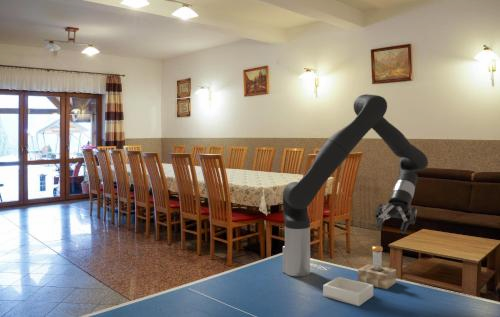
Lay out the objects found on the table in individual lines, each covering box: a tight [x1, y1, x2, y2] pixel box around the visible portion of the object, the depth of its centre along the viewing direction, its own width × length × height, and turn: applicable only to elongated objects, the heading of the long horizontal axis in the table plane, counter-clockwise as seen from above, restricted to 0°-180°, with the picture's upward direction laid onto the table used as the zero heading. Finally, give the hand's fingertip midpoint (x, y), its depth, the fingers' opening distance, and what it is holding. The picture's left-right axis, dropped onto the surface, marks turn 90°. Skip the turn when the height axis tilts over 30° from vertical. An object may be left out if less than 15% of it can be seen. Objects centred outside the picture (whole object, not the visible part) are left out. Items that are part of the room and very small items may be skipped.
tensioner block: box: [357, 263, 397, 290], centre depth 142 cm, size 10×8×4 cm
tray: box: [322, 276, 374, 307], centre depth 130 cm, size 12×10×4 cm
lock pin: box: [371, 245, 383, 272], centre depth 142 cm, size 3×3×12 cm
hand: (390, 230), depth 149 cm, fingers open, 8 cm apart
